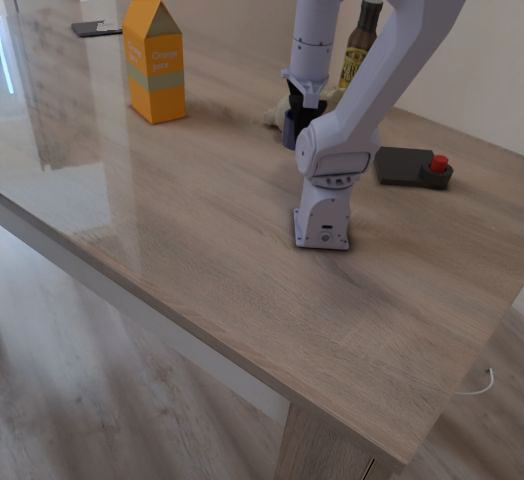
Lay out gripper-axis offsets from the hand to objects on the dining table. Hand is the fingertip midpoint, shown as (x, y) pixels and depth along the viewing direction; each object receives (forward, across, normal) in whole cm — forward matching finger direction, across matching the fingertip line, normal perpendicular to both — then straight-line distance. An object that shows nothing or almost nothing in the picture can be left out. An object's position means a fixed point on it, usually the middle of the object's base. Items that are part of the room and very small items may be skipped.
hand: (299, 134), depth 77 cm
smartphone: (+9, -68, -46) cm, 82 cm away
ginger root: (+9, -20, +4) cm, 22 cm away
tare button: (+6, -3, +26) cm, 26 cm away
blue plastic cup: (+1, 0, 0) cm, 1 cm away
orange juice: (+9, -24, -26) cm, 36 cm away
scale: (+8, -7, +22) cm, 24 cm away
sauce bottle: (+9, -32, +14) cm, 36 cm away
